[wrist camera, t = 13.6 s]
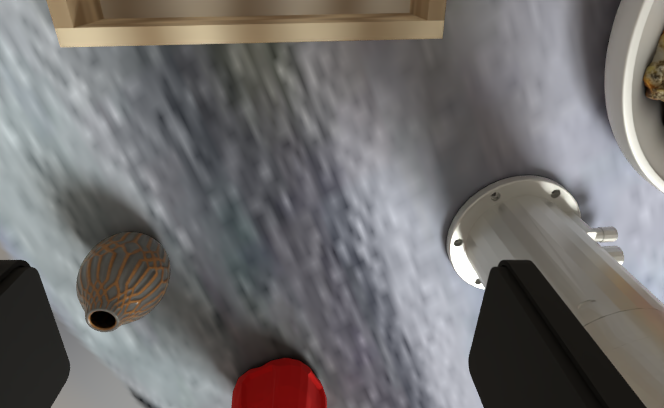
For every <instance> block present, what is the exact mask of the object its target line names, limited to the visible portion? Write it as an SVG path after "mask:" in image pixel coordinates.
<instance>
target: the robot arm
mask: <svg viewBox="0 0 664 408" xmlns="http://www.w3.org/2000/svg"><path fill="white" fill-rule="evenodd" d="M617 237H618V233H617V230H616V229H615V228H614V227H598V228H591V227H590V226H588V225H587V224H586V223H585V222H584V221H583V220H582V219H581V212H580V209H579V206H578V203H577V202H576V200H575V199H574V197H573V196H572V194H571V193H569V192H568V191H567V190H566V189H565V188H564V187H563V186H561V185H560V184H558V183H557V182H555V181H553V180H550V179H548V178H545V177H540V176H533V175H525V176H515V177H510V178H505V179H503V180H500V181H497V182H495V183H492V184H490V185H489V186H487V187H485V188H483V189H482V190H480V191H479V192H477V193H476V194H475V195H474V196H472V197H471V198H470V199H469V200H468V201H467V202H466V203H465V204H464V205H463V206H462V207H461V208H460V210H459V211H458V213H457V214H456V216H455V217H454V219H453V221H452V223H451V226H450V228H449V231H448V236H447V253H448V257H449V260H450V262H451V264H452V266H453V268H454V270H455V271H456V272H457V274H458V275H459V276H460V277H461V278H462V279H463V280H464V281H466V282H467V283H469V284H470V285H472V286H474V287H477V288H481V289H484V290H485V293H484V297H483V301H482V305H481V309H480V313H479V317H478V321H477V326H476V330H475V334H474V338H473V342H472V346H471V350H470V354H469V371H470V374H471V377H472V379H473V382H474V384H475V387H476V389H477V392H478V394H479V397H480V399H481V402H482V404H483V407H484V408H664V304H663V303H662V302H661V301H660V300H659V299H657V298H656V297H655V296H654V295H653V294H652V293H651V292H650V291H649V290H648V289H647V288H646V287H644V286H643V285H642V284H641V283H640V282H639V281H638V280H637V279H636V278H635V277H634V276H633V275H631V274H630V273H629V272H628V271H627V270H626V269H625V268H624V267H623V266H622V263H623V261H624V255H623V251H622V250H621V249H620V247H618V246H603V247H601V246H600V245H599V244H598V243H597V242H614V241H616V240H617ZM69 371H70V363H69V359H68V356H67V353H66V351H65V348H64V345H63V342H62V339H61V336H60V333H59V330H58V327H57V325H56V322H55V319H54V316H53V313H52V310H51V307H50V304H49V301H48V298H47V295H46V293H45V290H44V287H43V284H42V281H41V278H40V275H39V273H38V271H37V270H36V269H35V268H33V267H30V265H29V264H28V263H27V262H26V261H23V260H0V408H51V406H52V404H53V403H54V401H55V399H56V398H57V396H58V394H59V393H60V391H61V389H62V387H63V386H64V384H65V383H66V381H67V378H68V376H69Z"/></svg>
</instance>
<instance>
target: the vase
mask: <svg viewBox="0 0 664 408" xmlns="http://www.w3.org/2000/svg"><path fill="white" fill-rule="evenodd" d="M169 279H170V262H169V258H168V255H167V253H166V251H165V250H164V248H163V247H162V246H161V245H160V244H159V243H158V242H157V241H156V240H155V239H153V238H151V237H150V236H147V235H145V234H142V233H136V232H123V233H118V234H115V235H112V236H110V237H108V238H106V239H104V240H103V241H101V242H100V243H99V244H97V245H96V246H95V247H94V248H93V249H92V250H91V251H90V252H89V254H88V255H87V256H86V258H85V259H84V261H83V263H82V265H81V267H80V269H79V273H78V277H77V285H76V289H77V296H78V299H79V301H80V304H81V306H82V307H83V309H84V311H85V319H86V322H87V324H88V325H89V326H90V327H91V328H93V329H94V330H97V331H100V332H110V331H113V330H115V329H117V328H118V327H119V326H121V325H123V324H127V323H130V322H133V321H136V320H138V319H140V318H142V317H144V316H145V315H147V314H148V313H149V312H150V311H151V310H152V309H154V307H155V306H156V305H157V304H158V303H159V302H160V300H161V299H162V297H163V296H164V294H165V291H166V289H167V286H168V283H169Z"/></svg>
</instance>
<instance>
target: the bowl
mask: <svg viewBox="0 0 664 408" xmlns="http://www.w3.org/2000/svg"><path fill="white" fill-rule="evenodd" d="M604 86H605V101H606V109H607V114H608V118H609V122H610V125H611V129H612V132H613V134H614V137H615V139H616V141H617V143H618V145H619V147H620V149H621V151H622V153H623V154H624V156H625V158H626V159H627V160H628V162H629V163H630V164H631V166H632V167H633V168H634V169H635V170H636V171H637V172H638V174H639V175H640V176H641V177H643V178H644V179H645V180H646V181H647V182H648V183H649V184H651V185H652V186H654V187H655V188H656V189H658V190H659V191H661V192H662V193H664V0H621V2H620V5H619V7H618V10H617V13H616V16H615V19H614V23H613V27H612V30H611V34H610V39H609V44H608V48H607V55H606V63H605V82H604Z"/></svg>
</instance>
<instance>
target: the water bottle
mask: <svg viewBox="0 0 664 408" xmlns="http://www.w3.org/2000/svg"><path fill="white" fill-rule="evenodd" d="M231 408H327V398H326V395H325V392H324V389H323V386H322V384H321V382H320V380H319V379H318V378H317V377H316V376H315V375H314V373H313V372H312V370H311V369H310V367H308V366H307V365H305V364H304V363H302V362H301V361H299V360H295V359H290V358H281V359H277V360H272V361H270V362H268V363H266V364H265V365H263V366H261V367H258V368H253V369H250V370H248V371H247V372H246V373H245V374H243V375H242V376H241V377H239V378H238V380H237V383H236V385H235V388H234V390H233V396H232V407H231Z"/></svg>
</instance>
